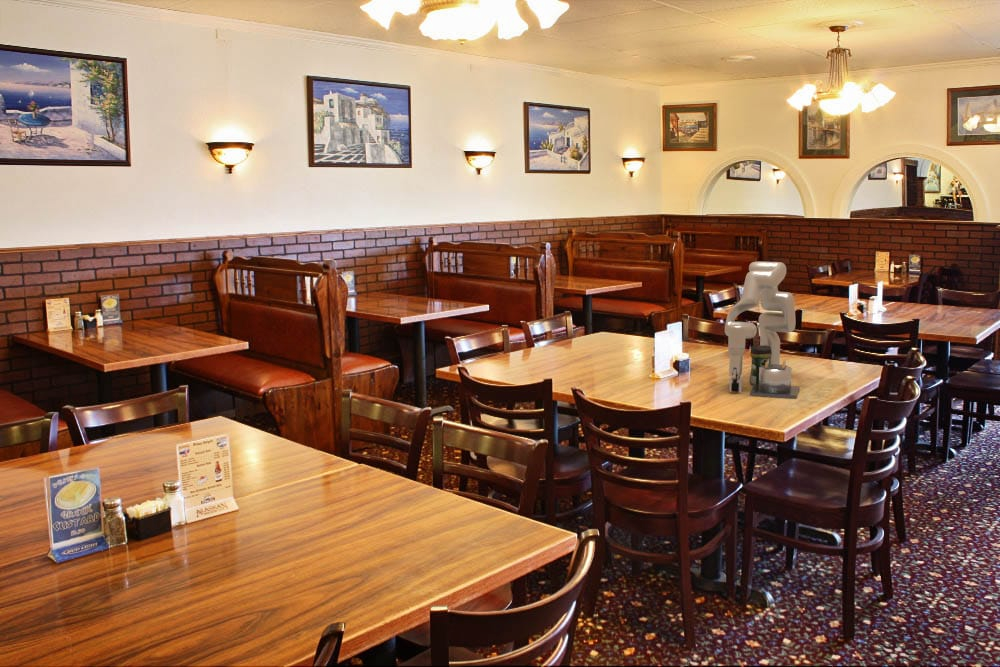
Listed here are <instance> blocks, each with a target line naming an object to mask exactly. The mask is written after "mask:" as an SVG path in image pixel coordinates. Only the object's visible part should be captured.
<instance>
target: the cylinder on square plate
mask: <svg viewBox="0 0 1000 667" xmlns="http://www.w3.org/2000/svg"><path fill="white" fill-rule="evenodd" d="M786 361H787V360H783V362H782V364H769V360H767V361H766V363H765V365H764V366H760V367H759V384H754V385H753V386H752V388H751V389H750V391H749V397H762V398H774V399H775V398H777V399H794V400H797V399H798V394H799V391H800V386H799V385H792V370H793V369H792V367H791V366H788V365H787V364H786Z"/></svg>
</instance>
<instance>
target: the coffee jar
mask: <svg viewBox="0 0 1000 667" xmlns="http://www.w3.org/2000/svg"><path fill="white" fill-rule="evenodd" d="M749 356H750V357H751V369H750V376H749V383H750V384H751V385H753V386H754V384H759V367H760V366H764V365H765V363H766V361H767V360H769V364H770V359H771V356H772V351H771V347H770V346H766V345H763V346H760V345H755V346H753V345H752V346H751V347H750V355H749Z"/></svg>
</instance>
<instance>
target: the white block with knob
mask: <svg viewBox="0 0 1000 667" xmlns="http://www.w3.org/2000/svg"><path fill="white" fill-rule="evenodd" d="M736 376H738V375H736ZM738 383H739V391H738V392H735V393H736V394H738V393H740V394H741V393H742V391H743V377H740V378H738ZM731 389H732V376H730V378H729V393H734V392H733V391H731Z"/></svg>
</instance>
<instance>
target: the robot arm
mask: <svg viewBox="0 0 1000 667" xmlns="http://www.w3.org/2000/svg"><path fill="white" fill-rule="evenodd" d="M748 271H749V272H747V273H746V276H745V280H744V283H743V288H742V293H741V297H740V299H739V301H738V302H736V303H735V304H734V305H733V306H732V307H731V308H730V310H729V311H728V313H727V316H726V319H725V324H724V333H725V335H726V336H727V338H728V346H727V348H728V350H727V355H728V356H729V363H728V364H729V365H728V366H729V368H728V376H729V377H732V389H731V391H733V392H732V393H736V392H738V391H739V383H738V378H741V375H742V371H743V356H745V355H746V340H747V339H748V340H749V339H753V338H754V337H755V336H756V334H757V332H758V328H759V338H760V339H759V342H760V343H759V346H763V345H766V346H770V347H771V351H772V356H771V359H770V364H780V362H781V361H780V357H781V356H780V355H781V339H780V337H779V335H778V333H791V332H794V331H795V328H796V322H797V321H796V304H795V298H794V295H793V294H792V293H791V292H787V291H786V292H785V291H779V289H778V286H779V284H781V282H782V281H783V280H784V279H785V277H786V275H787V266H786V264H785V263H784V262H779V261H753V262H751V263H750V264H749V266H748ZM759 304H760V307H761V308H762V309H763V310H764V311H765V312H762V313H760V315H759V316H758V328H757V326H756V325H755V323H752V322H746V321H735V320H736V318H737V317H738V316H739V315H740V314H741V313H743V312H746V311H747V310H750V309H753V308H756V307H758V306H759ZM780 365H781V364H780ZM736 375H738V376H736Z"/></svg>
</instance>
